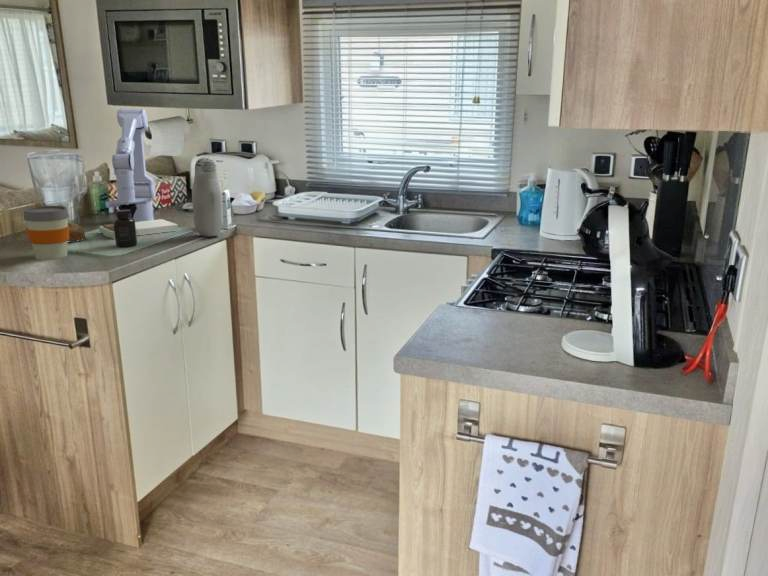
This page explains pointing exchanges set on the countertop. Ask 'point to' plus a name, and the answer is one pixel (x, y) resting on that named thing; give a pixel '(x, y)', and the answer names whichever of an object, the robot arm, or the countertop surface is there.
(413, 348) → the countertop surface
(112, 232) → the tray
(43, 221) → the reusable coffee cup
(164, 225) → the board
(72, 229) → the bread roll
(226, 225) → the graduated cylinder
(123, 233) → the supplement bottle
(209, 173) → the grey bottle
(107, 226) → the tile
